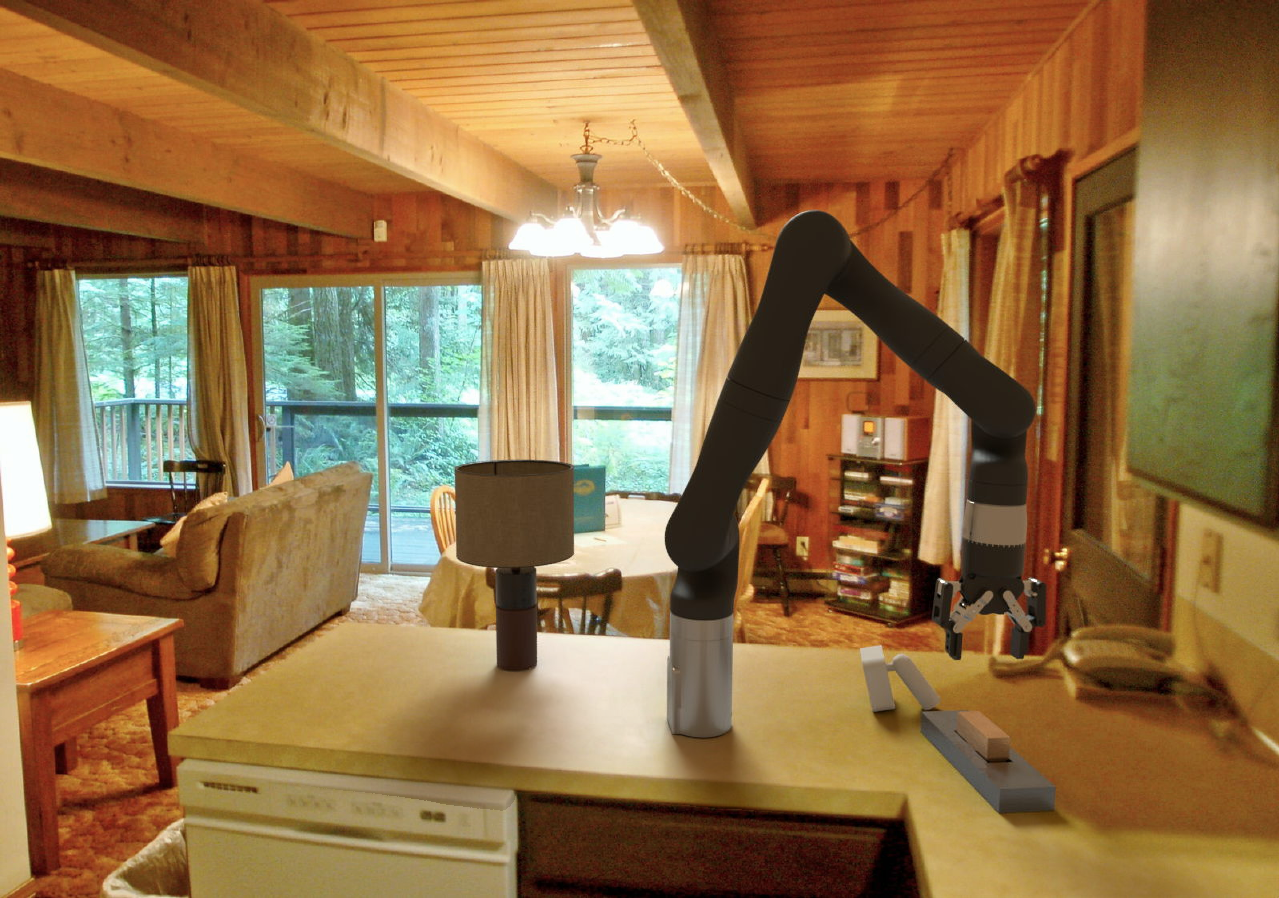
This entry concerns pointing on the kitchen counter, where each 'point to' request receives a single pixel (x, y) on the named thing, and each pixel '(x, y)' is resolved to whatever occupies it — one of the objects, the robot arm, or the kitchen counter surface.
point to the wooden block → (983, 736)
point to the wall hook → (880, 681)
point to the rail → (989, 768)
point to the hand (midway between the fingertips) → (985, 657)
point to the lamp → (515, 539)
